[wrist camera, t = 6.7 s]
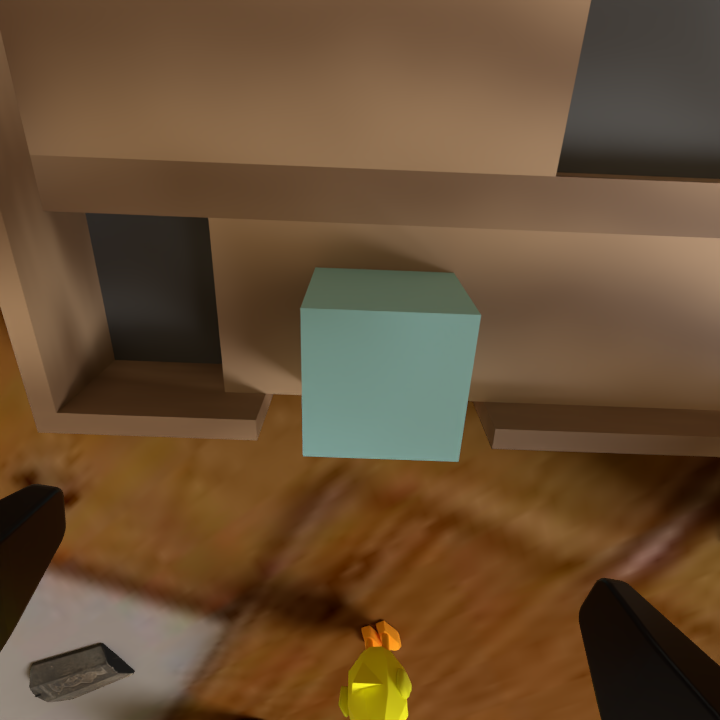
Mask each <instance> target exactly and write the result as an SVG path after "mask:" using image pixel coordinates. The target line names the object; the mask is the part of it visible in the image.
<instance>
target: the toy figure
mask: <svg viewBox="0 0 720 720" xmlns="http://www.w3.org/2000/svg"><path fill="white" fill-rule="evenodd" d="M376 627H377V630H378V633H377V632H376V631H375V630H374V629H373V628H372V627H371V626H370V625H368V626H365V627H362V628H361V631H362V634H363V638H364V642H365V645H366V650H365V651H364V652H362V653H361V655H360V656H359V658H358V659H357V661H356V662H355V663H354V665H353V666H352V668H351V669H350V670H349V673H348V686H341V689H340V697H339V707H340V709H341V711H342V713H343V714H344V716H345V717H347V716H350V719H351V720H406V719H407V717H408V709H407V698H408V697H409V696H410V691H411V685H412V684H411V682H410V680H409V677H408V675H407V673H406V671H405V670H404V668H403V667H402V665H401V664H400V663H399V661H398V660H397V659H396V658H395V656H394V655H393V654H392V652H391V651H390V650H395V651H396V650H399V649H400V647H401V641H400V637H399V633H398V632H397V631H396V630H395V629H394V628H393V627H392V626H390V625H389V624H388V623H386V622H385V621H381V622H378V623H376Z"/></svg>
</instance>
